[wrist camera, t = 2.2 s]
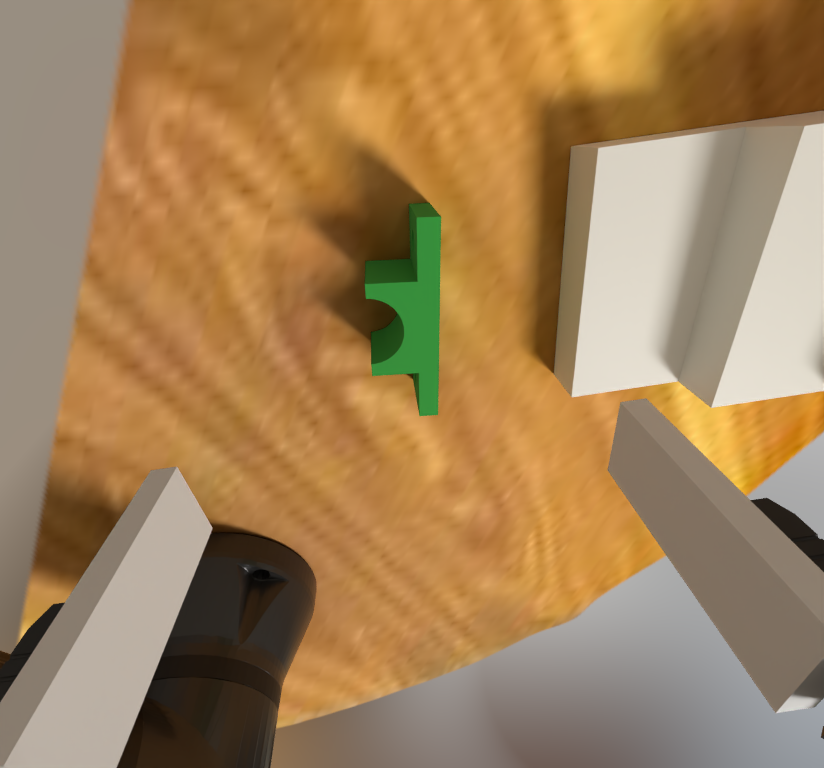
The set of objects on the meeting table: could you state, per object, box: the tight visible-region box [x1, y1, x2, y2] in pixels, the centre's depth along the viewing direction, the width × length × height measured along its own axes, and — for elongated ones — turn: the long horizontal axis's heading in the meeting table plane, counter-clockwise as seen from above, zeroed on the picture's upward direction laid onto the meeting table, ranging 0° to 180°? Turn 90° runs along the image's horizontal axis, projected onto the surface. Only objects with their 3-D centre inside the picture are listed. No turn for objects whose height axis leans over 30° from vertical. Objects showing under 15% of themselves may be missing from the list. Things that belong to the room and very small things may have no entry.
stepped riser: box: [554, 110, 824, 408], centre depth 22 cm, size 24×14×9 cm, turn 97°
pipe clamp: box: [365, 203, 441, 416], centre depth 23 cm, size 11×4×5 cm, turn 1°
